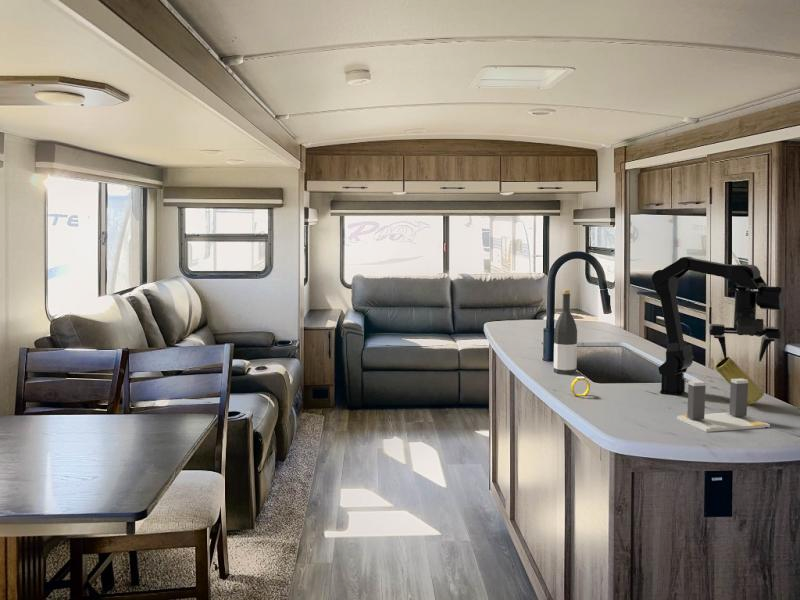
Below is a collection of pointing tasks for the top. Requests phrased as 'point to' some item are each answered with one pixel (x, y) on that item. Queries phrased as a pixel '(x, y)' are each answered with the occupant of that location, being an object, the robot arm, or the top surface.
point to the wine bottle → (565, 340)
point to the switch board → (723, 422)
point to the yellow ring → (574, 384)
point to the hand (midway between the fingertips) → (742, 360)
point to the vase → (734, 372)
